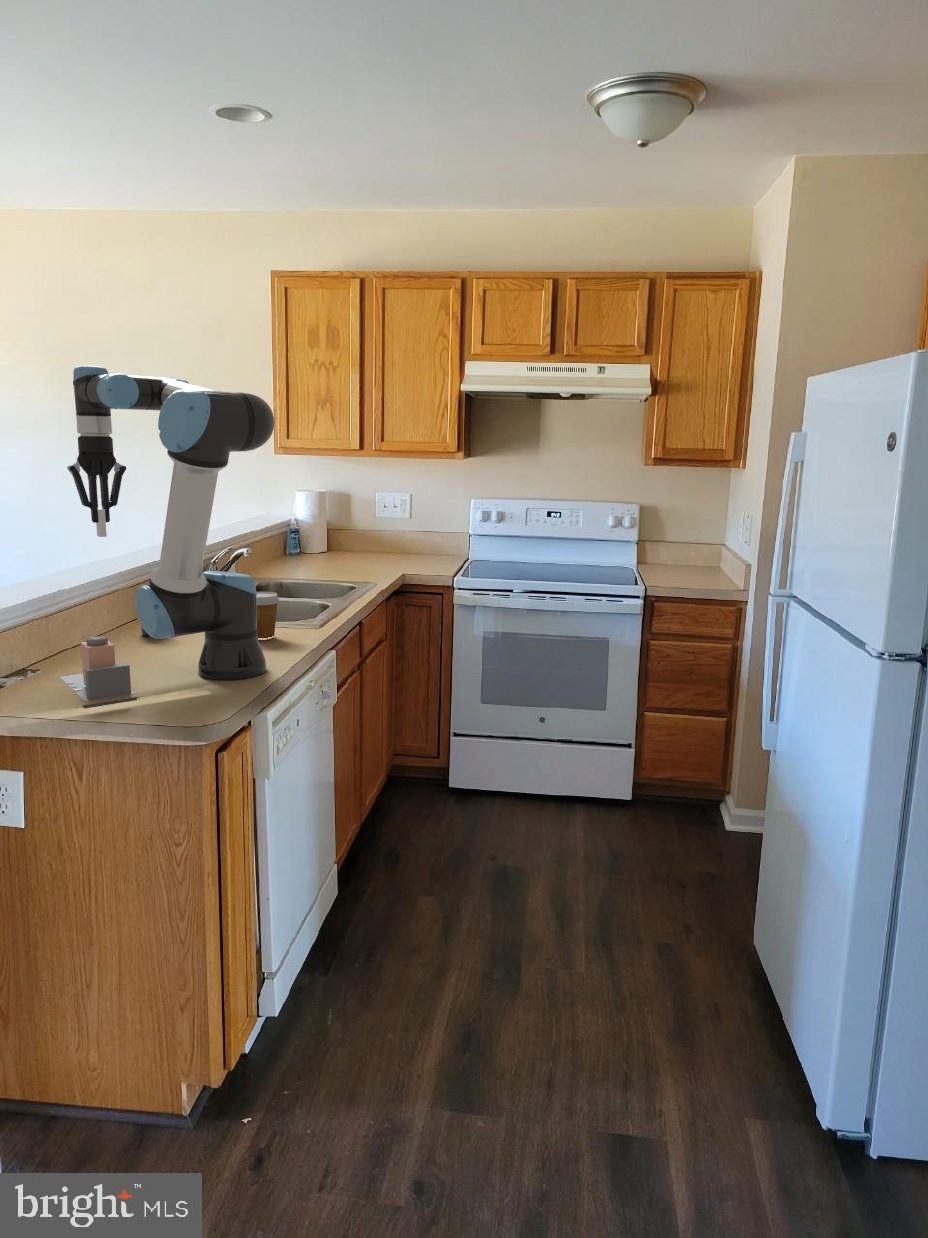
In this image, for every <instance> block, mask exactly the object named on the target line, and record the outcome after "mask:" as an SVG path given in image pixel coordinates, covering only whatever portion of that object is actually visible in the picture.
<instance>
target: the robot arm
mask: <svg viewBox="0 0 928 1238" xmlns="http://www.w3.org/2000/svg"><path fill="white" fill-rule="evenodd" d="M72 374H73V381H72V385H73V392H74V393H73V394H74V403H75V417H76V433H78V434H79V436H78V437H77V446H78V447H77V448H78V449H77V450H78V456H77V458H76V461H75V462H74V463H72V464H71V465H68V466H67V467H66V468H67V470H68V472H69V473H70V474H71V475H72V478H73V481H74V484H75V487H76V489H77V493H78V496H79V498H80V502H81V505H82V506H83V507H86V508H89V509H90V515H91V522H92V523H93V524H94V523H95V524H96V536H97V537H98V538H106V537H108V535H107V523H110V521H111V518H110V517H111V516H110V514H111V513H110V509H111V508H112V507H114V506H115V507H116V506H117V505H118V502H119V501H118V500H119V497H120V496H119V495H120V491H121V487H122V486H121V485H122V480H123V475H124V474H125V472H126V470H127V466H126V465H123V464H120V462H118V461H117V459H116V457H115V455H114V444H113V443H114V439H113V437H112V436H110V435H112V434H113V425H112V413H111V410H134V411H135V410H138V411H139V410H140V411H142V410H143V411H159V415H158V422H157V423H158V424H157V426H158V427H157V428H158V429H157V430H158V431H159V433H158V436H159V439H160V440H159V441H160V442H161V445H162V446H163V447H164V448H165V449H166V450H167V456H168V458H170V460H171V461H172V462H173V467H172V475H171V479H170V480H171V481H170V488H169V495H168V503H167V507H166V509H167V510H166V515H165V523H164V529H163V537H162V545H161V551H160V558H159V564H158V567H155V568H154V569H152V571H150V574H149V581H148V584H147V585H146V584H143V585H141V586H139V587H138V588H137V589H136V592H135V595H134V607H135V612H136V615H137V618H138V621H139V624H140V623H141V625H142V627H143V629H144V630H145V631H146V633H147V634H148V635H150V636H151V637H150V638H152V639H156V640H162V639H167V638H168V639H174V638H177V637H183V636H188V635H194V634H199V633H201V634H202V633H204V643H203V646H202V650H201V652H200V657H199V660H198V666H197V668H198V675H199V676H201V677H202V678H207V679H211V680H221V681H222V680H229V681H230V680H241V679H248V678H249V679H250V678H253V677H257V676H261V675H262V674H264V673H265V672H266V671H267V662H266V661H267V660H266V657H265V655H264V652H263V649H262V647H261V644H260V641H258V638H257V609H256V596H257V593H256V592H257V588H256V581H255V578H254V577H253V576H251V575H250V574H246V573H239V572H233V571H232V572H231V571H230V572H229V571H219V570H218V571H216V570H208V571H206V570H205V571H203V563H204V559H205V553H206V547H207V541H208V534H209V529H210V523H211V517H212V512H213V505H214V499H215V493H216V487H217V482H218V477H219V472H220V471H221V470H223V469H224V468H226V467H227V466H228V465H229V457H230V453H232V452H239V453H240V452H250V451H254V450H256V449H259V448H260V447H262V446H263V445H265V444H266V443H267V442H268V441H269V440H270V438H271V437H272V435H273V432H274V430H275V417H274V413H273V409H272V408H271V407H270V405H269V404H268V403H267V401H265V400H264V399H262V398H261V397H260V396H257V395H254V394H251V393H248V392H237V391H236V392H232V391H221V390H220V391H219V390H212V389H209V388H206V387H203V386H202V387H201V386H198V385H194V384H190V382H189V381H188V380H186V379H182V378H176V377H157V376H156V377H155V376H142V375H141V376H140V375H129V374H126V373H125V374H124V373H120V372H117V373H116V372H111V373H109V371H108V369H107V368H106V367H103V366H96V365H95V366H93V365H79V366H78V365H77V366H75V367H74V368H73V373H72ZM80 467H81V468H80ZM81 469H82V470H83V471H84V472H85V474H86V475H87V480H88V492H87V491H86V487H85V485H84V482H83V478H82V475H81V473H80V472H81ZM112 469H113V471H114V474H113V480H112V485H111V491H110V493H109V473H110V472H111V471H112ZM97 478H98V479H99V484H100V487H99V489H100V490H99V491H100V500H101V501H100V503H101V508H99V500H98V484H97V481H98V479H97ZM87 493H88V494H87ZM202 571H203V572H202ZM141 625H140V626H141Z"/></svg>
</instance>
